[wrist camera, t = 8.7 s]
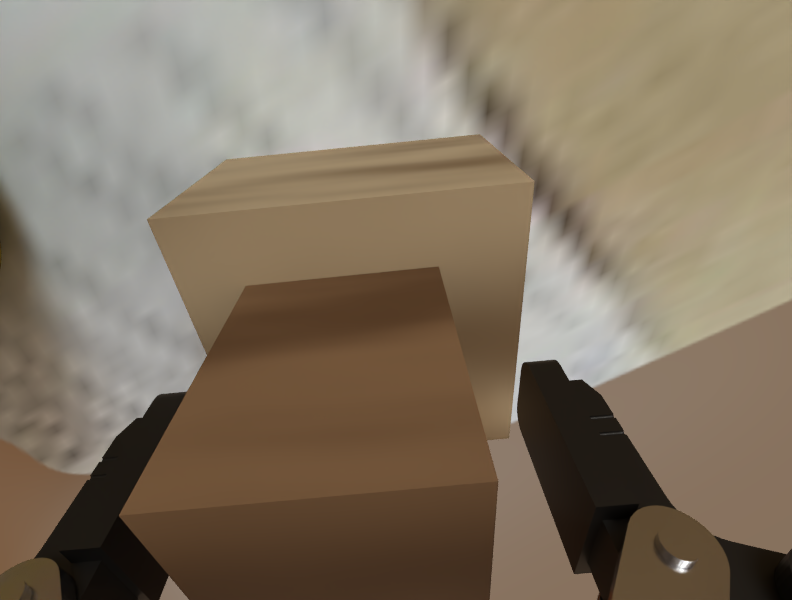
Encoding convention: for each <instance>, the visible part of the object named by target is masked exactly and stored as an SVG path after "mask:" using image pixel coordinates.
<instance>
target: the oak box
mask: <svg viewBox="0 0 792 600" xmlns="http://www.w3.org/2000/svg"><path fill="white" fill-rule="evenodd" d="M533 192H534V181H533V180H532V179H531V178H530V177H529V176H528V175H526V174H525V173H524V172H523V171H522V170H521V169H519V168H518V167H517V166H516V165H515V164H514V163H512V162H511V161H510V160H509V159H508V158H507V157H505V156H504V155H503V154H502V153H501V152H500V151H499V150H497V149H496V148H495V147H494V146H493V145H492V144H490V143H489V142H488V141H487V140H486V139H485V138H483V137H482V136H481V135H480V134H478V135H468V136H458V137H448V138H438V139H428V140H418V141H408V142H398V143H388V144H378V145H368V146H358V147H347V148H337V149H327V150H317V151H307V152H297V153H287V154H277V155H267V156H257V157H247V158H237V159H227V160H225V161H224V162H223V163H221V164H220V165H219V166H217V167H216V168H215V169H213V170H212V171H211V172H209V173H208V174H207V175H205V176H204V177H203V178H201V179H200V180H199V181H197V182H196V183H195V184H193V185H192V186H191V187H189V188H188V189H187V190H185V191H184V192H183V193H181V194H180V195H179V196H177V197H176V198H175V199H173V200H172V201H171V202H170V203H168V204H167V205H166V206H164V207H163V208H162V209H160V210H159V211H158V212H156V213H155V214H154V215H152V216H151V217H150V218H148V219H147V221H148V223H149V225H150V227H151V230H152V232H153V234H154V236H155V239H156V241H157V243H158V246H159V248H160V250H161V252H162V255H163V257H164V259H165V261H166V264H167V266H168V268H169V270H170V273H171V275H172V277H173V279H174V282H175V284H176V286H177V288H178V291H179V293H180V295H181V297H182V300H183V302H184V304H185V306H186V309H187V311H188V313H189V315H190V318H191V320H192V322H193V324H194V327H195V329H196V331H197V333H198V336H199V338H200V340H201V342H202V345H203V347H204V349H205V351H206V354H207V355H208V353H209V351H210V350H211V348H212V346H213V344H214V342H215V340H216V339H217V337H218V335H219V333H220V331H221V330H222V328H223V326H224V324H225V322H226V321H227V319H228V317H229V315H230V313H231V312H232V310H233V308H234V306H235V304H236V302H237V301H238V299H239V297H240V295H241V293H242V292H243V290H244V288H245V286H249V285H259V284H269V283H279V282H289V281H299V280H309V279H319V278H329V277H339V276H349V275H359V274H369V273H379V272H389V271H399V270H409V269H418V268H428V267H438V266H439V269H440V273H441V276H442V280H443V284H444V287H445V291H446V294H447V298H448V302H449V305H450V309H451V312H452V316H453V320H454V323H455V327H456V331H457V334H458V338H459V341H460V345H461V349H462V352H463V356H464V359H465V363H466V367H467V370H468V374H469V378H470V381H471V385H472V388H473V392H474V396H475V399H476V403H477V406H478V410H479V414H480V417H481V421H482V425H483V428H484V432H485V435H486V439H487V440H494V439H506V438H509V433H510V423H511V413H512V403H513V393H514V383H515V373H516V363H517V353H518V342H519V332H520V322H521V312H522V302H523V292H524V282H525V272H526V262H527V252H528V242H529V232H530V222H531V212H532V202H533Z"/></svg>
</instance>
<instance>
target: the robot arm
mask: <svg viewBox="0 0 792 600" xmlns="http://www.w3.org/2000/svg"><path fill="white" fill-rule="evenodd" d="M186 393H187V392H179V393H168V394H160V395H158V396H157V397H156V398H155V399H154V400H153V402H152V404H151V405H150V407H149V408H148V410H147V411H146V413H145V415H144V416H143V418H136V419H135V420H134V421H133V422H132V423H131V424H130V425H129V426H128V427H127V428H125V429H124V430H123V431H122V432H121V433H120V434H119V435H118V436H117V437H116V438H115V440H114V441H113V442H112V444H111V445H110V447H109V448H108V450H107V451H106V453H105V454H104V456H103V457H102V458H103V460H102V462H99V463H98V465H97V466H96V468H95V469H94V471H93V472H92V474H91V475H90V476H91V479H90V480H87V481H86V483H85V484H84V486H83V487H82V489H81V490H80V492H79V493H78V495H77V496H76V498H75V499H74V501H73V502H72V504H71V505H70V507H69V508H68V510H67V512H66V513H65V514H64V516H63V517H62V519H61V520H60V522H59V523H58V525H57V526H56V528H55V529H54V531H53V532H52V534H51V535H50V537H49V538H48V540H47V541H46V543H45V544H44V546H43V547H42V549H41V550H40V551H39V553H38V554H37V555H36V557H35V558H34V559H31V560H27V561H25V562H22V563H20V564H18V565H16V566H14V567H12V568H10V569H9V570H7V571H6V572H4V573H3V574H1V575H0V600H159V599H160V596H161V594H162V591H163V588H164V586H165V584H166V581H167V579H168V576H169V575H168V574H167V573H166V571H165V570H164V569H163V568H162V567H161V565H160V564H159V563H158V562H157V561H156V560H155V558H154V557H153V556H152V555H151V554H150V552H149V551H148V550H147V549H146V548H145V546H144V545H143V544H142V543H141V542H140V541H139V539H138V538H137V537H136V536H135V535H134V533H133V532H132V531H131V530H130V529H129V527H128V526H127V525H126V524H125V523H124V521H123V520H122V519H121V518H120V517H119V514H120V512H121V511H122V509H123V507H124V505H125V503H126V501H127V500H128V498H129V496H130V494H131V492H132V491H133V489H134V487H135V485H136V483H137V482H138V480H139V478H140V476H141V474H142V473H143V471H144V469H145V467H146V465H147V463H148V462H149V460H150V458H151V456H152V454H153V453H154V451H155V449H156V447H157V445H158V444H159V442H160V440H161V438H162V436H163V435H164V433H165V431H166V429H167V427H168V426H169V424H170V422H171V420H172V418H173V416H174V415H175V413H176V411H177V409H178V407H179V406H180V404H181V402H182V400H183V398H184V397H185V395H186ZM517 414H518V421H519V426H520V430H521V432H522V436H523V438H524V441H525V444H526V446H527V449H528V452H529V454H530V457H531V459H532V462H533V465H534V468H535V470H536V473H537V475H538V478H539V481H540V484H541V486H542V489H543V492H544V494H545V497H546V500H547V503H548V505H549V508H550V511H551V513H552V516H553V518H554V521H555V524H556V527H557V529H558V532H559V535H560V538H561V540H562V543H563V546H564V548H565V551H566V553H567V556H568V559H569V562H570V564H571V567H572V570H573V572H574V574H581V573H592V575H593V577H594V580H595V582H596V584H597V587H598V589H599V595H598V598H597V600H792V549H791V550H790V551H789V552H788V554H783V553H779V552H774V551H770V550H766V549H761V548H757V547H753V546H748V545H744V544H739V543H735V542H731V541H728V540H724V539H721V538H719V537H716V536H713V535H712V534H711V533H710V532H709V531H708V530H707V529H706V528H705V527H704V526H703V525H701V524H700V523H699V522H698V521H696V520H695V519H693V518H692V517H690V516H689V515H686V514H685V513H683V512H681V511H678V510H676V508H675V507H674V506H673V505H672V504H671V503H670V501H669V500H668V499H667V497H666V495H665V494H664V492H663V491H662V489H661V488H660V486H659V485H658V483H657V482H656V480H655V478H654V477H653V475H652V474H651V472H650V471H649V469H648V467H647V466H646V464H645V463H644V461H643V460H642V458H641V457H640V455H639V453H638V452H637V450H636V449H635V447H634V446H633V444H632V442H631V441H630V439H629V438H628V436H627V435H625V434H624V432H623V428H622V427H621V425H620V424H619V422H618V421H617V419H616V418H614V416H613V413H612V411H611V410H610V408H609V407H608V405H607V403H606V402H605V400H604V399H603V397H602V396H601V395H600V394H599V393H598V392H597V391H595V390H594V389H593V388H592V387H590V386H589V385H588V384H587V383H585V382H584V381H583V380H572V381H569V379H568V378H567V376H566V374H565V372H564V371H563V369H562V367H561V365H560V364H559V363H558V361H556V360H546V361H535V362H525V363H523V365H522V368H521V376H520V385H519V394H518V403H517Z"/></svg>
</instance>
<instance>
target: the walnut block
mask: <svg viewBox="0 0 792 600" xmlns="http://www.w3.org/2000/svg"><path fill="white" fill-rule="evenodd" d="M497 491H498V479H497V476H496V472H495V468H494V464H493V461H492V457H491V454H490V450H489V446H488V443H487V439H486V435H485V432H484V428H483V425H482V421H481V417H480V414H479V410H478V406H477V403H476V399H475V396H474V392H473V388H472V385H471V381H470V378H469V374H468V370H467V367H466V363H465V359H464V356H463V352H462V349H461V345H460V341H459V338H458V334H457V331H456V327H455V323H454V320H453V316H452V312H451V309H450V305H449V302H448V298H447V294H446V291H445V287H444V284H443V280H442V276H441V273H440V269H439V266H438V267H428V268H418V269H409V270H399V271H389V272H379V273H369V274H359V275H349V276H339V277H329V278H319V279H309V280H299V281H289V282H279V283H269V284H259V285H249V286H245V288H244V290H243V292H242V293H241V295H240V297H239V299H238V301H237V302H236V304H235V306H234V308H233V310H232V312H231V313H230V315H229V317H228V319H227V321H226V322H225V324H224V326H223V328H222V330H221V331H220V333H219V335H218V337H217V339H216V340H215V342H214V344H213V346H212V348H211V350H210V351H209V353H208V355H207V357H206V359H205V360H204V362H203V364H202V366H201V368H200V369H199V371H198V373H197V375H196V377H195V378H194V380H193V382H192V384H191V386H190V388H189V389H188V391H187V393H186V395H185V397H184V398H183V400H182V402H181V404H180V406H179V407H178V409H177V411H176V413H175V415H174V416H173V418H172V420H171V422H170V424H169V426H168V427H167V429H166V431H165V433H164V435H163V436H162V438H161V440H160V442H159V444H158V445H157V447H156V449H155V451H154V453H153V454H152V456H151V458H150V460H149V462H148V463H147V465H146V467H145V469H144V471H143V473H142V474H141V476H140V478H139V480H138V482H137V483H136V485H135V487H134V489H133V491H132V492H131V494H130V496H129V498H128V500H127V501H126V503H125V505H124V507H123V509H122V511H121V512H120V514H119V517H120V518H121V519H122V520H123V521H124V523H125V524H126V525H127V526H128V527H129V529H130V530H131V531H132V532H133V533H134V535H135V536H136V537H137V538H138V539H139V541H140V542H141V543H142V544H143V545H144V546H145V548H146V549H147V550H148V551H149V552H150V554H151V555H152V556H153V557H154V558H155V560H156V561H157V562H158V563H159V564H160V565H161V567H162V568H163V569H164V570H165V571H166V573H167V574H168V575H169V576H170V577H171V579H172V580H173V581H174V582H175V583H176V584H177V586H178V587H179V588H180V589H181V590H182V592H183V593H184V594H185V595H186V596H187V597H188V599H189V600H489V599H490V585H491V572H492V558H493V545H494V530H495V517H496V504H497Z"/></svg>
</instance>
